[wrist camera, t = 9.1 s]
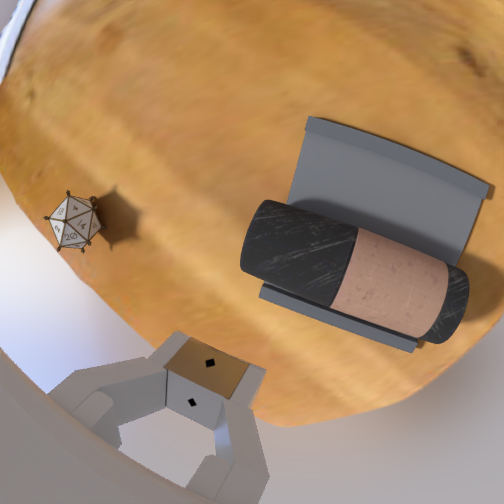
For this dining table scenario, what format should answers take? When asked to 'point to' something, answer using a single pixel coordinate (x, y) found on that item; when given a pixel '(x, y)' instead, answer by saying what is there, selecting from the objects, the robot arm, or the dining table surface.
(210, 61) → the dining table surface
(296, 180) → the tray
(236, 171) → the dining table surface
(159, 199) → the dining table surface
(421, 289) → the travel mug
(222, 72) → the dining table surface
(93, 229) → the game die
